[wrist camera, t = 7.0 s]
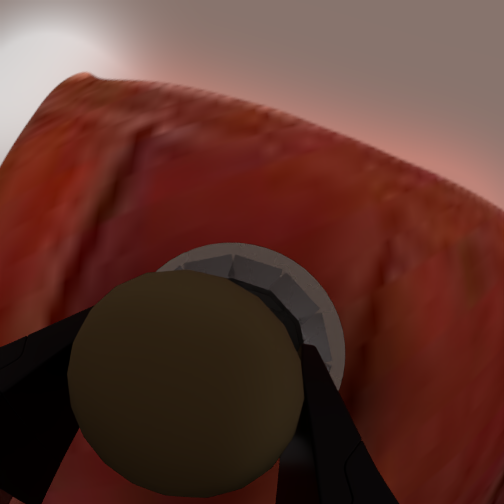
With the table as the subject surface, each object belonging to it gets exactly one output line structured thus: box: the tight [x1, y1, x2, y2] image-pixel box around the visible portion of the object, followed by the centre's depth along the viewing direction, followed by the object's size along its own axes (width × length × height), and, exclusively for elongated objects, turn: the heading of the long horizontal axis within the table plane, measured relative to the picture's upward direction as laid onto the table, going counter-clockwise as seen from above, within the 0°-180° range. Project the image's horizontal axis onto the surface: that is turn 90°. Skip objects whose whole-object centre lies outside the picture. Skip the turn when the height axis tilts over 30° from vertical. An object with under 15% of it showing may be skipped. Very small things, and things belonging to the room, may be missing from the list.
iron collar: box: [156, 243, 345, 391], centre depth 15 cm, size 13×13×3 cm
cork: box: [67, 270, 304, 498], centre depth 10 cm, size 6×6×11 cm
